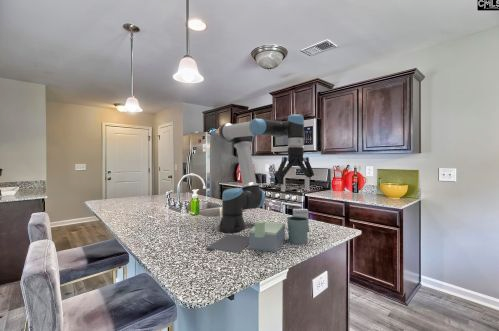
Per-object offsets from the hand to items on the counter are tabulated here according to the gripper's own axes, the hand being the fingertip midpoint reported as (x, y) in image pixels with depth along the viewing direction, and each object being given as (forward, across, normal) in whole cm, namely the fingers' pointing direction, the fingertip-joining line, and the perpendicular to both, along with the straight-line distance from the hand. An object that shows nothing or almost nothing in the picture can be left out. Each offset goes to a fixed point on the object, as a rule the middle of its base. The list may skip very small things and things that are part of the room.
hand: (295, 190), depth 121 cm
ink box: (+25, +15, +17) cm, 34 cm away
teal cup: (+25, 0, -2) cm, 25 cm away
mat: (+25, -29, +8) cm, 39 cm away
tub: (+25, -15, 0) cm, 29 cm away
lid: (+18, -16, -2) cm, 24 cm away
